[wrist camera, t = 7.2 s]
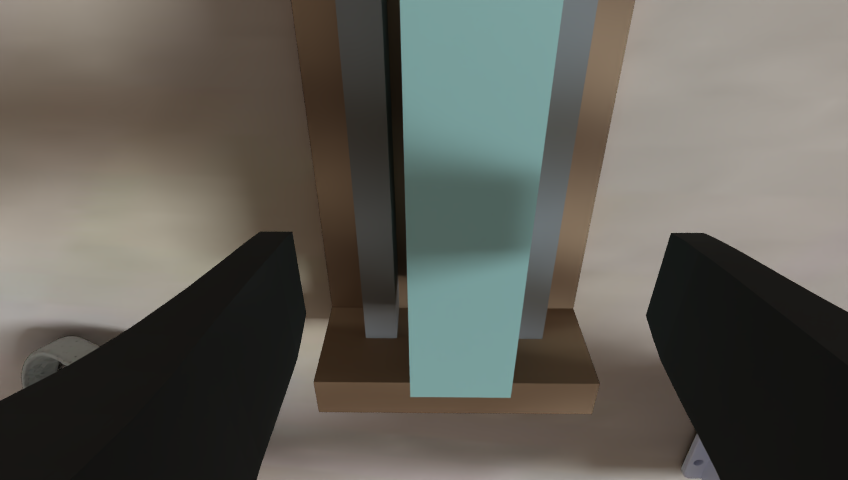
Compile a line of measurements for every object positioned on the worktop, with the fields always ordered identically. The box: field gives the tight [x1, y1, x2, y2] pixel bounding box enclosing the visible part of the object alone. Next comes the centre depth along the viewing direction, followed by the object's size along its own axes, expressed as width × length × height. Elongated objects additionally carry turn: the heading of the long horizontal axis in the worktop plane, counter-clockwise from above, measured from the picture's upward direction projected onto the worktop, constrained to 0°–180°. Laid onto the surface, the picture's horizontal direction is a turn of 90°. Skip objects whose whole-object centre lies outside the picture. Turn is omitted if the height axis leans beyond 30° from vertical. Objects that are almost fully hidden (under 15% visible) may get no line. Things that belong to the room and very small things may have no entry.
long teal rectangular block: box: [400, 0, 564, 398], centre depth 15 cm, size 12×3×6 cm, turn 0°
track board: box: [291, 0, 635, 414], centre depth 16 cm, size 19×10×5 cm, turn 0°
